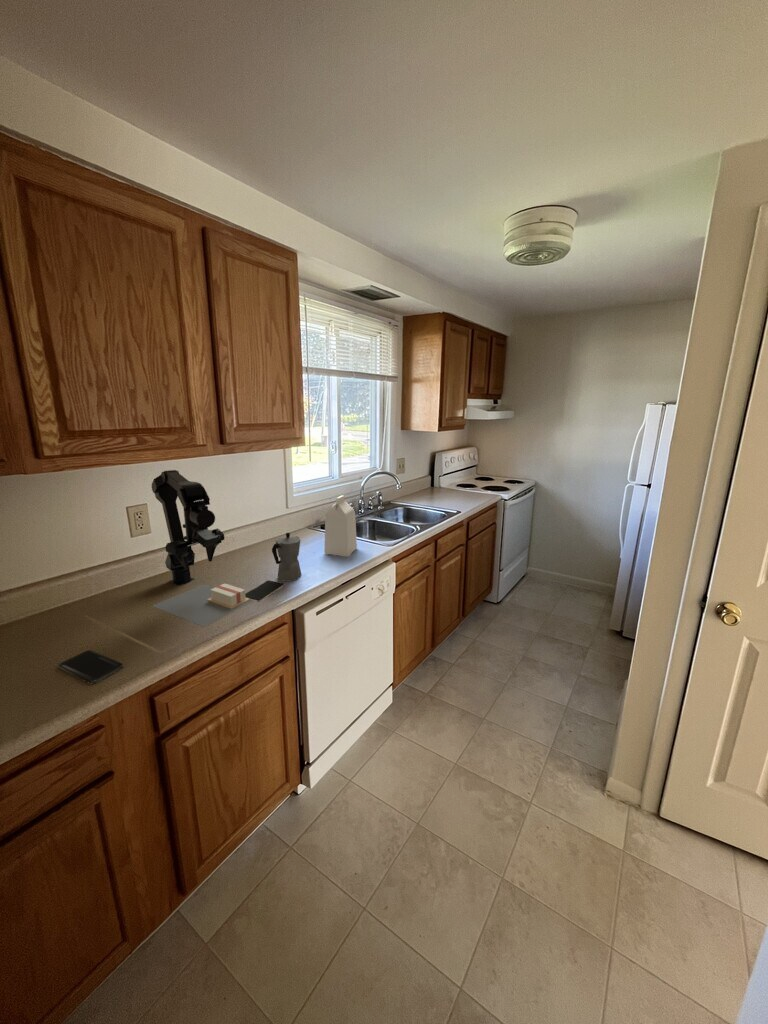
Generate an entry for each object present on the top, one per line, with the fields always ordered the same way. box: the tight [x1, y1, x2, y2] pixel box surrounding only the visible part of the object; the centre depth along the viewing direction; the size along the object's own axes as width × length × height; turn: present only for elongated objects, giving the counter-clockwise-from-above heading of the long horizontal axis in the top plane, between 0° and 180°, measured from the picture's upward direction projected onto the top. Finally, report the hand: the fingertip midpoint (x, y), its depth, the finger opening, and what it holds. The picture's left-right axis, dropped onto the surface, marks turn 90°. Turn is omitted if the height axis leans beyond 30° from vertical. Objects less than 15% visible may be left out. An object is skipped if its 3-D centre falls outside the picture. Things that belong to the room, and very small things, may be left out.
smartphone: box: [245, 580, 285, 603], centre depth 149 cm, size 8×1×15 cm
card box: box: [210, 583, 246, 606], centre depth 140 cm, size 10×6×4 cm, turn 61°
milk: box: [323, 495, 358, 557], centre depth 189 cm, size 12×12×26 cm
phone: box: [58, 649, 124, 684], centre depth 104 cm, size 8×1×15 cm
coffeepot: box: [271, 532, 302, 581], centre depth 159 cm, size 15×9×18 cm, turn 153°
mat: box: [151, 583, 255, 628], centre depth 138 cm, size 26×20×1 cm
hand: (198, 565), depth 140 cm, fingers open, 9 cm apart
